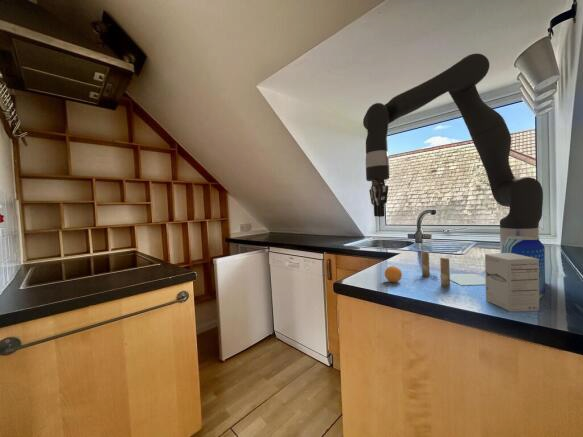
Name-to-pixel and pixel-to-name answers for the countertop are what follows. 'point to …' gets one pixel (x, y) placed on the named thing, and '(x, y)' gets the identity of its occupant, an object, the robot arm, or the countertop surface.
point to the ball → (393, 274)
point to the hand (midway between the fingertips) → (379, 216)
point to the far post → (425, 263)
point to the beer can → (528, 253)
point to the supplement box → (512, 281)
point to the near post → (445, 272)
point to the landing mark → (467, 279)
